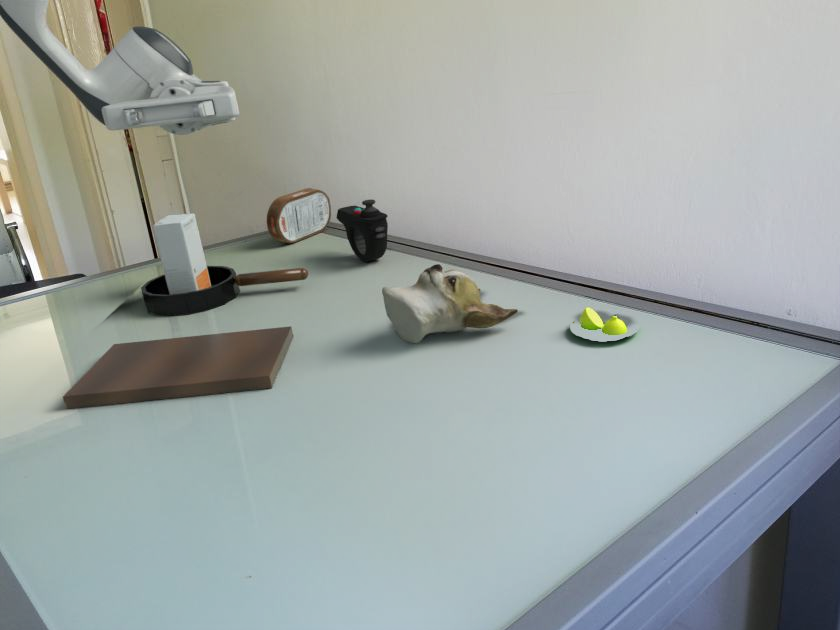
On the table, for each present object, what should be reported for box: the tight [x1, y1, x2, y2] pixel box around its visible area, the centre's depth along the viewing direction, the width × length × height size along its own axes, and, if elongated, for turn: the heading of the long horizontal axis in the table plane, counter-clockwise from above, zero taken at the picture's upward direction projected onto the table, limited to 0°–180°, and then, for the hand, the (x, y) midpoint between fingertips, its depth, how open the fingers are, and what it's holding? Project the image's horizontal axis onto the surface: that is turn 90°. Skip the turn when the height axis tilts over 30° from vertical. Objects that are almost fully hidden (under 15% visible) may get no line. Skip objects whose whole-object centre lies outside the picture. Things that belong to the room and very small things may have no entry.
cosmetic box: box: [152, 213, 211, 295], centre depth 105 cm, size 6×4×12 cm
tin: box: [266, 187, 332, 244], centre depth 133 cm, size 15×3×8 cm, turn 149°
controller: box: [336, 199, 389, 262], centre depth 117 cm, size 4×12×10 cm, turn 34°
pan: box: [140, 265, 309, 317], centre depth 107 cm, size 24×13×3 cm, turn 92°
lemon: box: [579, 307, 627, 335], centre depth 83 cm, size 8×8×3 cm
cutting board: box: [62, 325, 294, 410], centre depth 83 cm, size 22×14×2 cm, turn 93°
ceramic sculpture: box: [381, 263, 519, 344], centre depth 86 cm, size 11×9×15 cm
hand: (165, 115), depth 108 cm, fingers open, 8 cm apart
